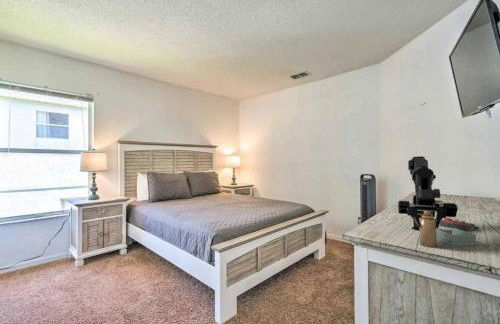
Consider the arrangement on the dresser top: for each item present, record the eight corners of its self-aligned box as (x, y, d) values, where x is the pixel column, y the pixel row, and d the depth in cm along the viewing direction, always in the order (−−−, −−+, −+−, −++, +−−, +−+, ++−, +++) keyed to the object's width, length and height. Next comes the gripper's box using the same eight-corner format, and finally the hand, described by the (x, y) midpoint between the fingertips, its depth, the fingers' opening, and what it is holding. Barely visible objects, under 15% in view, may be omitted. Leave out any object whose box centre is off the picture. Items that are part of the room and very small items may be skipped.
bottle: (416, 244, 93) (415, 210, 94) (425, 242, 96) (424, 209, 96) (431, 248, 89) (430, 212, 89) (440, 246, 91) (438, 211, 91)
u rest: (431, 237, 101) (431, 228, 101) (455, 237, 101) (455, 228, 101) (452, 245, 91) (451, 235, 91) (478, 245, 91) (478, 235, 91)
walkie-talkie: (481, 230, 110) (433, 221, 129) (481, 220, 110) (433, 213, 129) (470, 232, 107) (423, 223, 125) (470, 222, 107) (422, 214, 125)
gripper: (397, 181, 101) (398, 212, 91) (455, 181, 91) (463, 217, 81) (397, 197, 107) (399, 228, 98) (452, 199, 98) (459, 234, 88)
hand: (428, 227), depth 91 cm, fingers closed on bottle, 5 cm apart
